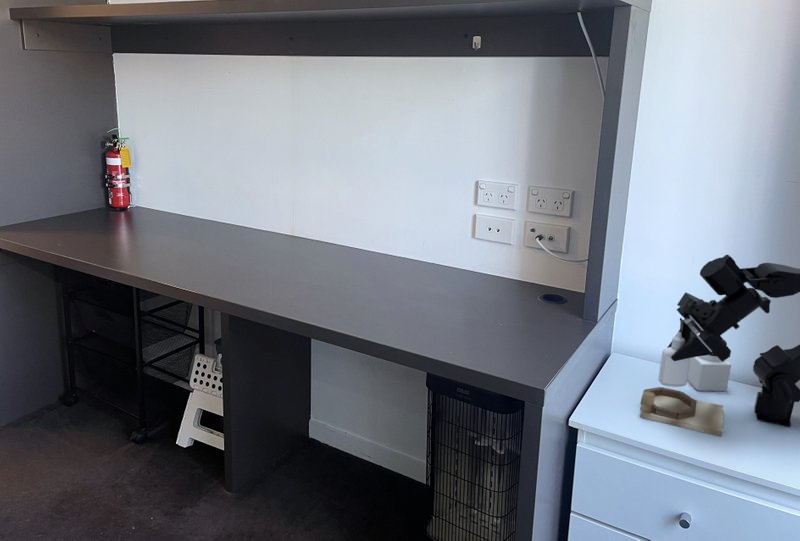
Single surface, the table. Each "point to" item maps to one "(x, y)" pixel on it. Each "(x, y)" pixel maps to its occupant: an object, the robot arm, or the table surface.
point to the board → (695, 423)
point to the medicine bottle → (709, 373)
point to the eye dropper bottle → (674, 365)
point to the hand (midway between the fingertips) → (669, 355)
